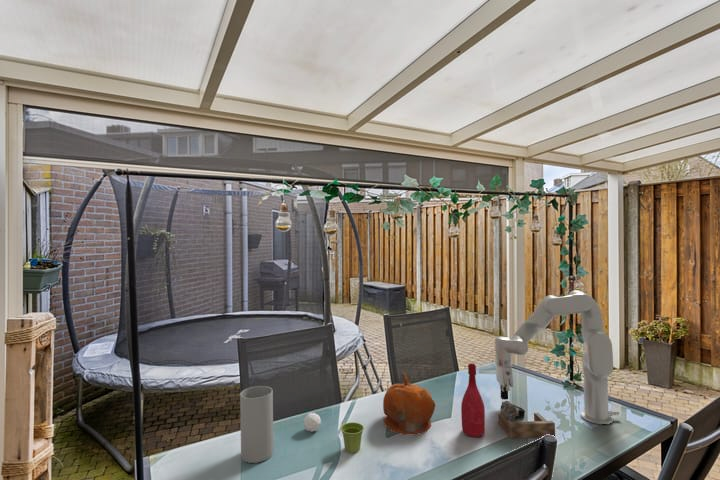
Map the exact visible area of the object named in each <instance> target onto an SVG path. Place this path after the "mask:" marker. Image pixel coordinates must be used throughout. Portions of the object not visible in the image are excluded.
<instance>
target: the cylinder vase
mask: <svg viewBox="0 0 720 480" xmlns="http://www.w3.org/2000/svg"><path fill="white" fill-rule="evenodd" d="M239 398H240V401H239V402H240V404H239V406H240V408H239V409H240V411H239V413H240V459H242V461H243V462H245V463H247V462H248V463H249V464H259V463H262V462H264V461H267V460H269V458H271V457H272V456H273V454H274V450H275V449H274V391H273V388H272V387H270V386H266V385H256V386H251V387H248V388H245V389H243V390H242V391H241V392H240V393H239Z"/></svg>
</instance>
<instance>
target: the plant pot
mask: <svg viewBox="0 0 720 480" xmlns="http://www.w3.org/2000/svg"><path fill="white" fill-rule="evenodd" d="M364 429H365V427H364V425H363V424H361V423H359V422H345V423H343V424H342V425H341V427H340V431H341V433H342V437H343V445H344V450H345V451H346V452H347V453H354V454H355V453H358V452H359V451H360V449H361V442H362V436H363V432H364Z"/></svg>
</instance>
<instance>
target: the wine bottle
mask: <svg viewBox="0 0 720 480" xmlns="http://www.w3.org/2000/svg"><path fill="white" fill-rule="evenodd" d="M467 366H468V367H467V369H468V370H467V374H468V375H469V376H468V383H467V384H468V385H467V387H466V390H465V392H464V395H463V397H462V400H461V407H460V409H461V412H460V415H461V429H462V432H463V433H464V434H465V435H466V436H469V437H472V438H480V437H482V436H483V435H485V431H486V427H485V426H486V412H485V411H486V410H485V403H484V400H483V398H482V395H481V393H480V390H479V388H478V386H477V380H476V375H477V366H476V364H475V363H473V362H471V363H468V365H467Z"/></svg>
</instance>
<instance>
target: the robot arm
mask: <svg viewBox="0 0 720 480" xmlns="http://www.w3.org/2000/svg"><path fill="white" fill-rule="evenodd" d="M572 314H573V315H574V314H580V318H581V329H582V330H581V331H582V341H583V342H584V344H585V345H586V346H587V350H585V351H584V352H583V353H582V356H581V364H582V365H581V366H582V374H583V376H582V377H583V402H584V404H583V406H584V410H582V411H580V416H581V418H582V419H583V420H585V421H587V422H590V423H592V424H593V423H594V424H597V425H602V424H607V425H610V423H611V424H613V423H614V418H613V416H619V415H620V412H619V410H613V409H612V408H609V388H608V387H609V381H608V377H610V376H612V373H613V371H614V353H613V344H612V339H611V338H610V336H609V335H608V334H607V333H605V329H604V321H603V320H604V319H603V313H602V310H601V307H600V305H599V304H598V302H597V301H596V300H595V299H594V298H593V297H592V296H591V295H589V294H588V293H586V292H584V291H582V290H578V289H574V290H571V291H570V292H568V294H567V295H565V296H556V295H551V294H549V295H546V296H545V297H544V298H543V299H542V300H541V302H540V303H539V304H538V306H537V307H536V308H535V310H534V311H533V312H532V313H531V314H530V315H529V317H528V318H527V319H526V320H525V321H524V322H523V323H522V324H521V326H520V327H519V328H518V329H517V330H516V331H515V333H514V334H513V336H512V337H511V338H510V337H508V336H507V337H506V336H496V337H495V339H494V344H495V345H494V349H495V366H496V368H495V369H496V372H495V373H496V375H495V376H496V381H497V383H498V384H499V389H500V399H501V400H505V401H507V400H509V391H511V388H514V377H513V370H512V369H513V368H512V366H513V365H512V364H513V363H512V360H513V359H512V354H513V355H517V356H523V355H526V354H527V353H528V351H529V345H528V343H529V342H530V340H531V339H532V338H533V337H534V336H535V335H536V334H538V333H539V332H541V331H544V330H545V329H546V328H547V327H548V326H549V324H550V323H551V322H552V320H553V319H554V318H555V317H557V316H568V315H572Z"/></svg>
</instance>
